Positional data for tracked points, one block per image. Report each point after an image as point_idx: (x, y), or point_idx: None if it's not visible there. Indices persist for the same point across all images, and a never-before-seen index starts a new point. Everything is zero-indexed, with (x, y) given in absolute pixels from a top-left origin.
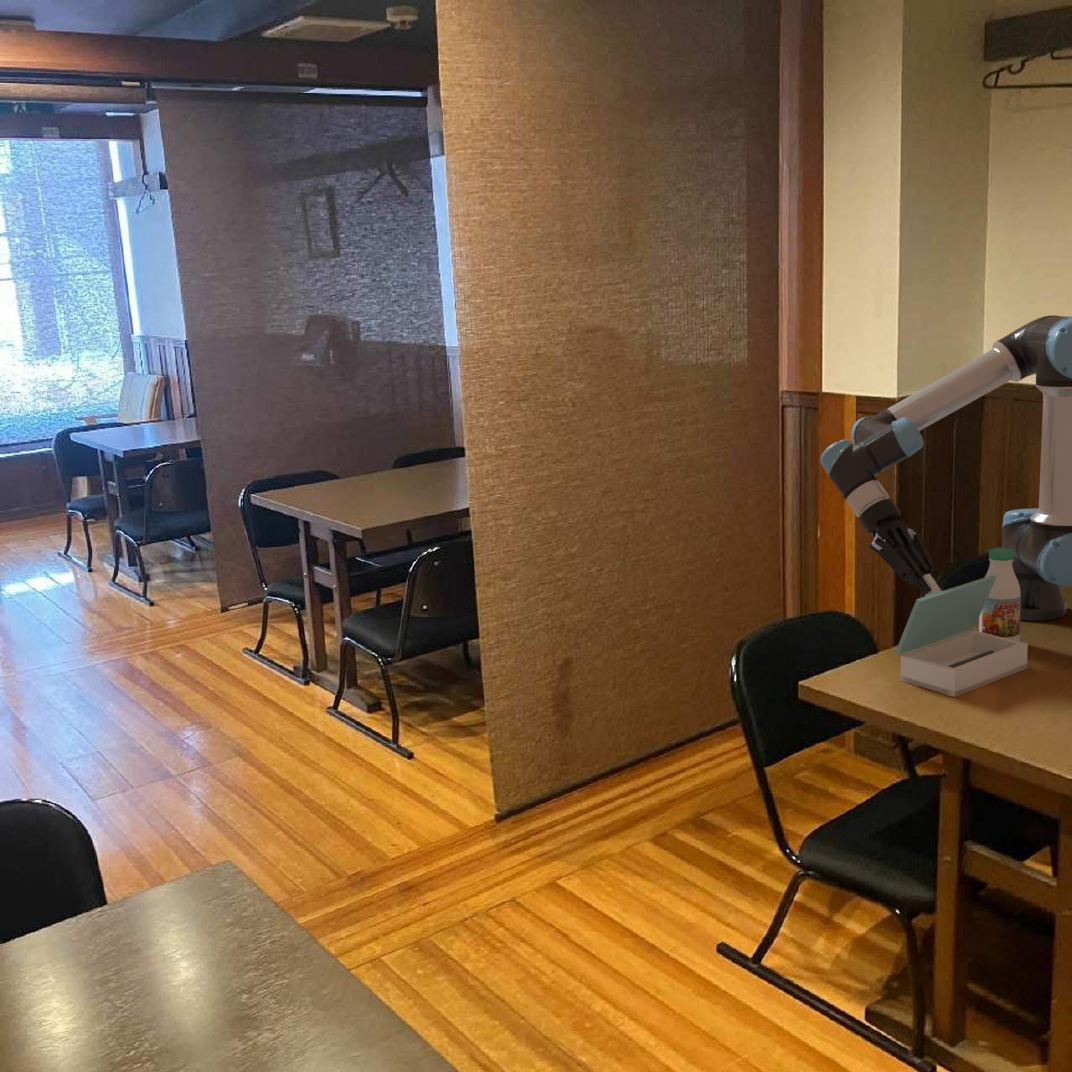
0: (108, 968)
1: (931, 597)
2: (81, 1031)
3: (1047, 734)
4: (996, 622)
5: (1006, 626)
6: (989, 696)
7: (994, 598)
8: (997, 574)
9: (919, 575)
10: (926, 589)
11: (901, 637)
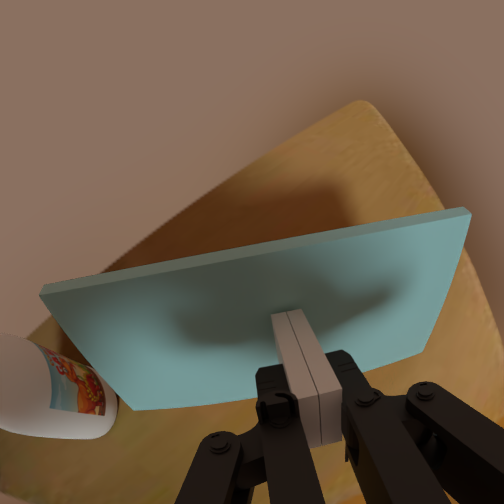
0: None
1: (418, 216)
2: None
3: (324, 132)
4: (83, 377)
5: (76, 363)
6: (304, 229)
7: (48, 370)
8: None
9: (373, 390)
10: (348, 354)
11: (435, 321)
